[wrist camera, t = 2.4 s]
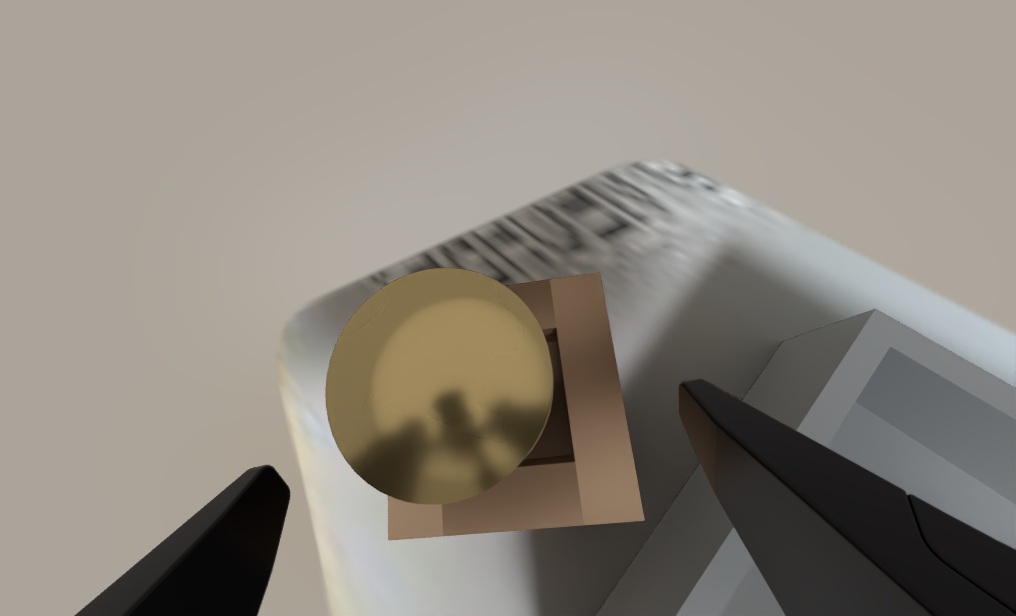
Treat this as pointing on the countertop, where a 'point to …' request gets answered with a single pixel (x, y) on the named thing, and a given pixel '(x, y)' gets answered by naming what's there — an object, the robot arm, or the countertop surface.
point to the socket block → (555, 434)
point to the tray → (853, 434)
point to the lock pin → (439, 386)
